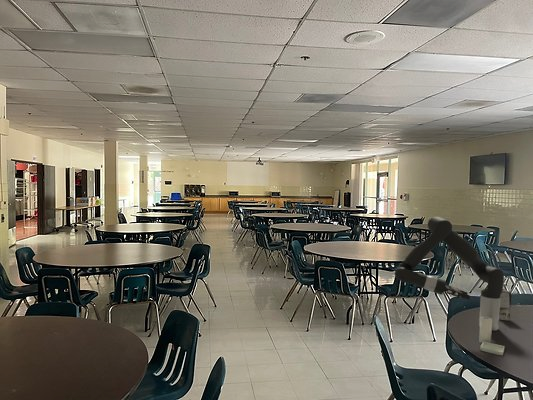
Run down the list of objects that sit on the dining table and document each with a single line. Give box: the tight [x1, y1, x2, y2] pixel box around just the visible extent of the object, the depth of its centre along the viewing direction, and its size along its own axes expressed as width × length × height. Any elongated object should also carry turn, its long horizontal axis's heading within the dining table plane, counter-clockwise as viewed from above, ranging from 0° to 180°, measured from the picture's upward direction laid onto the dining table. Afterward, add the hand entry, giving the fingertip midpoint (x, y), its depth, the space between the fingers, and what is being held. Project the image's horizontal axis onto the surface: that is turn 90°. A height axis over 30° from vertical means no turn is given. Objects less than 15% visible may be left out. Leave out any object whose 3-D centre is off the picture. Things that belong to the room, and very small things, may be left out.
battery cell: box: [478, 316, 492, 344], centre depth 195 cm, size 5×5×13 cm
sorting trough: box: [479, 341, 506, 356], centre depth 186 cm, size 9×9×2 cm
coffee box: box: [499, 288, 513, 321], centre depth 234 cm, size 9×6×16 cm
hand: (468, 296), depth 199 cm, fingers open, 8 cm apart
